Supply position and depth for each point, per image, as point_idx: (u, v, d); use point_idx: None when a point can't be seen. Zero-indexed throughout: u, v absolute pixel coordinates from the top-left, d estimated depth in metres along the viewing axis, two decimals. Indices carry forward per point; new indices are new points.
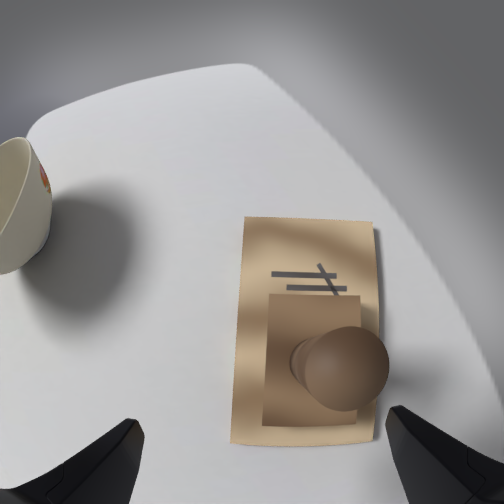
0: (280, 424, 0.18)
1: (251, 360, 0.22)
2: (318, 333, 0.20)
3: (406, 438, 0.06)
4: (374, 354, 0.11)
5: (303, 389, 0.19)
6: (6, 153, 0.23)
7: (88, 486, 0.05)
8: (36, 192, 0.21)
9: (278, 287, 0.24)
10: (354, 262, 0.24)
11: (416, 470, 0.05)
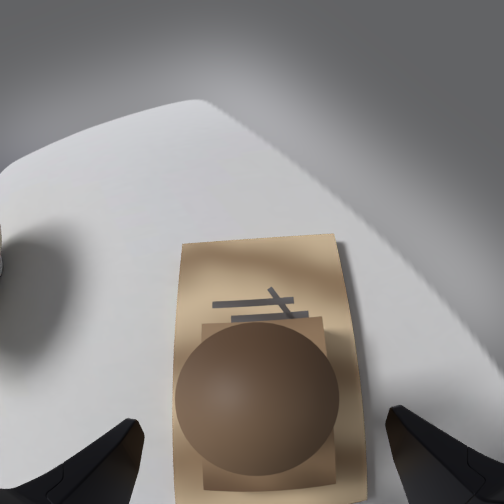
0: (227, 489, 0.11)
1: None
2: None
3: (406, 438, 0.06)
4: (305, 370, 0.06)
5: None
6: None
7: (88, 486, 0.05)
8: None
9: (221, 320, 0.19)
10: (315, 281, 0.20)
11: (416, 470, 0.05)
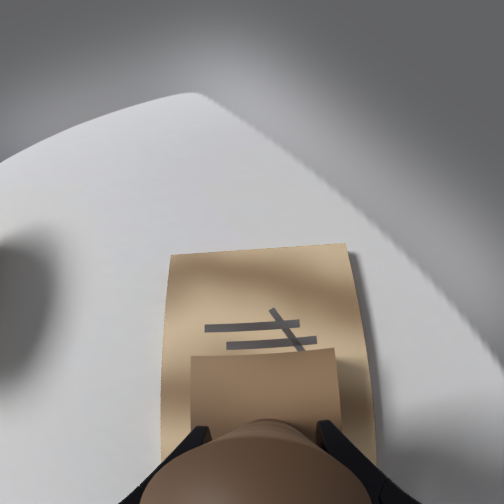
0: None
1: None
2: (270, 412, 0.12)
3: None
4: (328, 503, 0.03)
5: None
6: None
7: None
8: None
9: (214, 346, 0.16)
10: (324, 301, 0.17)
11: None
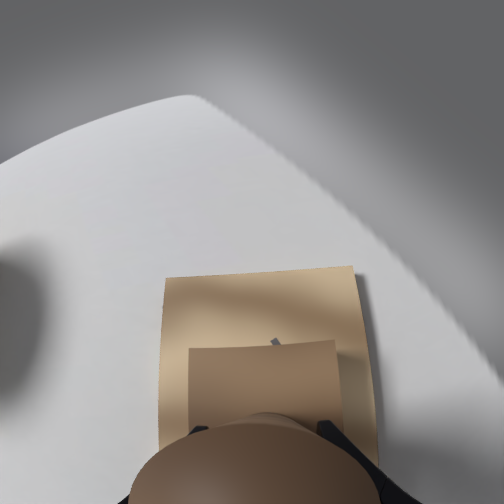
0: None
1: None
2: (269, 405, 0.12)
3: None
4: (332, 496, 0.03)
5: None
6: None
7: None
8: None
9: None
10: (330, 330, 0.16)
11: None
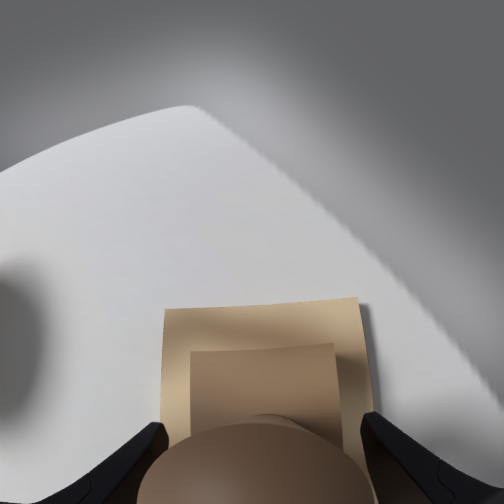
0: None
1: None
2: (269, 407, 0.12)
3: (377, 446, 0.06)
4: (328, 491, 0.03)
5: None
6: None
7: (117, 495, 0.05)
8: None
9: None
10: None
11: (386, 479, 0.06)
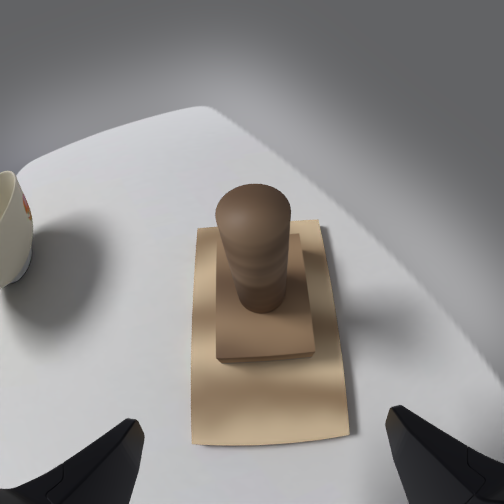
0: (234, 355, 0.19)
1: (207, 355, 0.22)
2: None
3: (406, 438, 0.06)
4: (274, 199, 0.14)
5: (253, 317, 0.21)
6: None
7: (87, 485, 0.05)
8: (18, 215, 0.23)
9: None
10: None
11: (416, 470, 0.05)
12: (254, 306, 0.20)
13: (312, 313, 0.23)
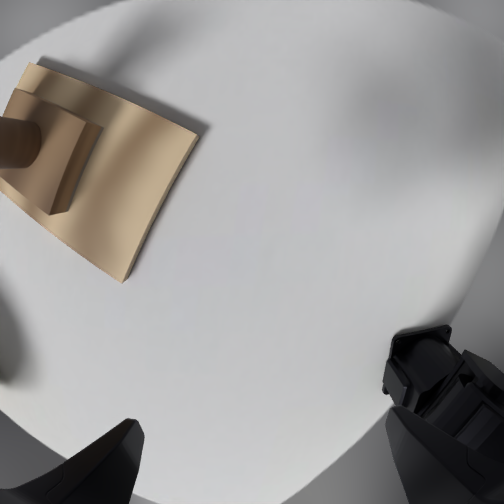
0: (53, 197, 0.16)
1: (57, 220, 0.19)
2: None
3: (406, 438, 0.06)
4: None
5: (37, 162, 0.15)
6: None
7: (87, 486, 0.05)
8: None
9: None
10: (39, 90, 0.16)
11: (416, 470, 0.05)
12: (23, 159, 0.14)
13: (75, 106, 0.17)
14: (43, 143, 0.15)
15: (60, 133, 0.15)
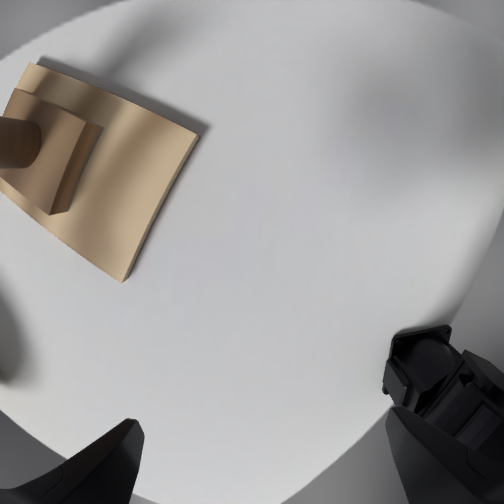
0: (52, 197, 0.16)
1: (57, 220, 0.19)
2: None
3: (406, 438, 0.06)
4: None
5: (37, 162, 0.15)
6: None
7: (88, 486, 0.05)
8: None
9: None
10: (38, 90, 0.16)
11: (416, 470, 0.05)
12: (23, 159, 0.14)
13: (75, 106, 0.17)
14: (43, 143, 0.15)
15: (60, 133, 0.15)
